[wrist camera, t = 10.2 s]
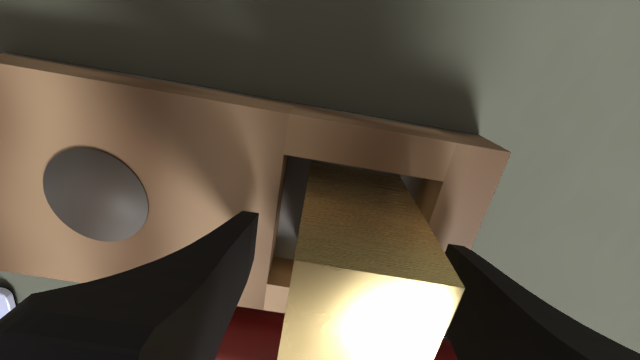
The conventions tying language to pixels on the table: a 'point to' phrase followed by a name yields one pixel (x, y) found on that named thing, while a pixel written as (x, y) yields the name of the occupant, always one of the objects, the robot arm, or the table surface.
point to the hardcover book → (272, 337)
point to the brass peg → (366, 273)
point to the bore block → (198, 171)
